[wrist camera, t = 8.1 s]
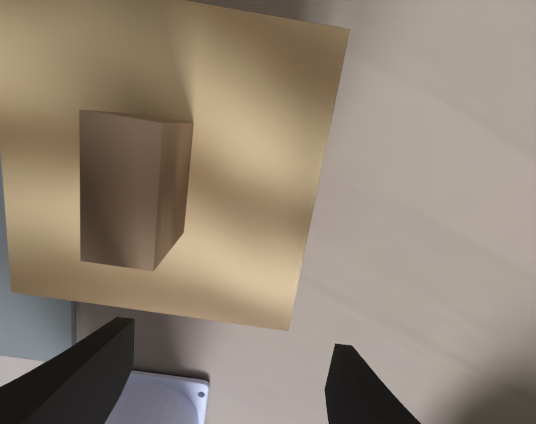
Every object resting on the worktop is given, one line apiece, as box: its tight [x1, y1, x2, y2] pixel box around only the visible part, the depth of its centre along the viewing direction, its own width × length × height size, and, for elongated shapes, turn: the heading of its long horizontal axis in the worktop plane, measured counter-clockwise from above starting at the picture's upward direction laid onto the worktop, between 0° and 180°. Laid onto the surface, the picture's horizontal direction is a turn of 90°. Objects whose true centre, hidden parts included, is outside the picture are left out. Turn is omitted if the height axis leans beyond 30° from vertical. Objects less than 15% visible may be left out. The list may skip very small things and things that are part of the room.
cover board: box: [0, 0, 350, 331], centre depth 12 cm, size 14×14×5 cm
